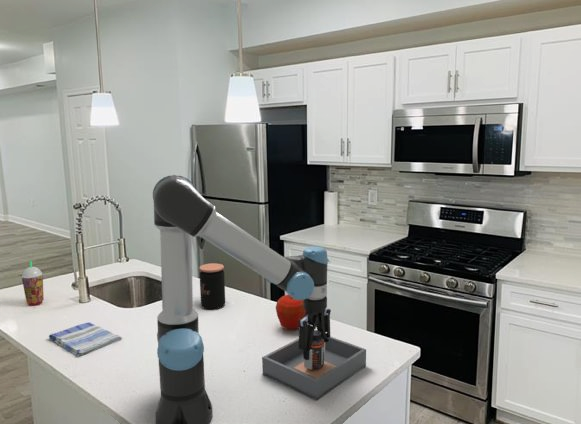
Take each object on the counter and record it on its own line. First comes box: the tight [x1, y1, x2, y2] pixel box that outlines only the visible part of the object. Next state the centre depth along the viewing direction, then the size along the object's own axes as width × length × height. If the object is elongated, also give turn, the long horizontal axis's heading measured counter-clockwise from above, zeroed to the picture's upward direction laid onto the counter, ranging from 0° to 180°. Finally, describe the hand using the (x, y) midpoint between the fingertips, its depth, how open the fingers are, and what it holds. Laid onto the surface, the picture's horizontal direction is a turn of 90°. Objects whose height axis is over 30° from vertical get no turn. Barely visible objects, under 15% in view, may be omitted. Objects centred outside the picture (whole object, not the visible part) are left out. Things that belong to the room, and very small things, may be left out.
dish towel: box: [48, 322, 123, 357], centre depth 175 cm, size 17×24×3 cm
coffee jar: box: [198, 262, 226, 311], centre depth 205 cm, size 11×11×18 cm
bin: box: [261, 336, 367, 401], centre depth 151 cm, size 26×22×6 cm
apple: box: [275, 294, 306, 331], centre depth 182 cm, size 12×12×14 cm
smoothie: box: [21, 260, 45, 307], centre depth 209 cm, size 8×8×20 cm
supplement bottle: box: [311, 329, 324, 369], centre depth 150 cm, size 6×6×11 cm
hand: (314, 363), depth 151 cm, fingers open, 6 cm apart
